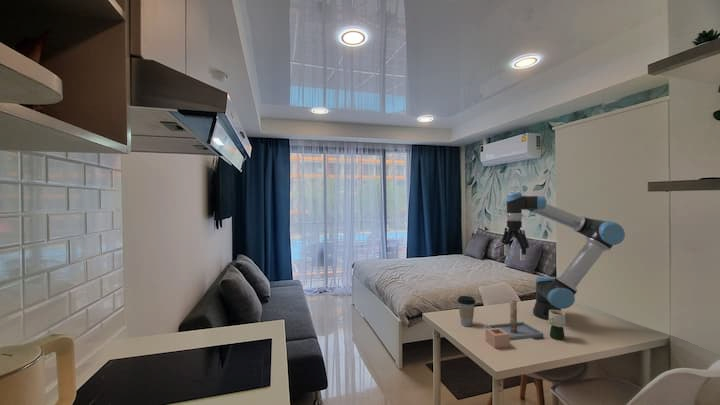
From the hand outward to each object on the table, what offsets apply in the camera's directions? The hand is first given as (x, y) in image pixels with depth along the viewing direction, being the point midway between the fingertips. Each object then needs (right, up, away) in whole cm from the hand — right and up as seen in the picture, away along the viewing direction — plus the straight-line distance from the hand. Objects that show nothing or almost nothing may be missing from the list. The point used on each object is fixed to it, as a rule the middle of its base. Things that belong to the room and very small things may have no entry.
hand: (514, 257), depth 174 cm
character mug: (+12, -37, -19) cm, 43 cm away
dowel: (-7, -36, -13) cm, 39 cm away
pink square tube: (-21, -38, -26) cm, 50 cm away
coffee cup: (-27, -38, -1) cm, 46 cm away
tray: (-7, -37, -13) cm, 40 cm away
